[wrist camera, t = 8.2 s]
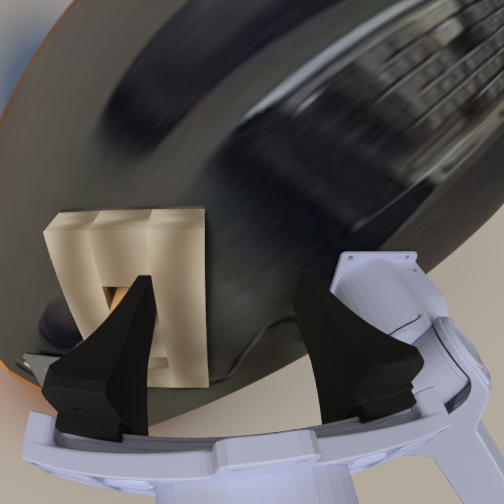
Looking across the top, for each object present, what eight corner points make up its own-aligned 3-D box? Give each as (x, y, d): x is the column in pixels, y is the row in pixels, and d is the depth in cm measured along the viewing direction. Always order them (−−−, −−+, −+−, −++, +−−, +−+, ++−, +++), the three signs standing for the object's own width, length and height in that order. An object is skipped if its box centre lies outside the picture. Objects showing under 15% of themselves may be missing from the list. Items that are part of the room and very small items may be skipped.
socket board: (205, 205, 21) (204, 229, 18) (207, 362, 32) (208, 387, 30) (61, 210, 19) (43, 232, 16) (111, 359, 30) (107, 383, 28)
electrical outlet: (119, 350, 31) (119, 366, 29) (126, 390, 37) (127, 403, 35) (26, 342, 27) (23, 357, 25) (48, 383, 32) (46, 396, 30)
